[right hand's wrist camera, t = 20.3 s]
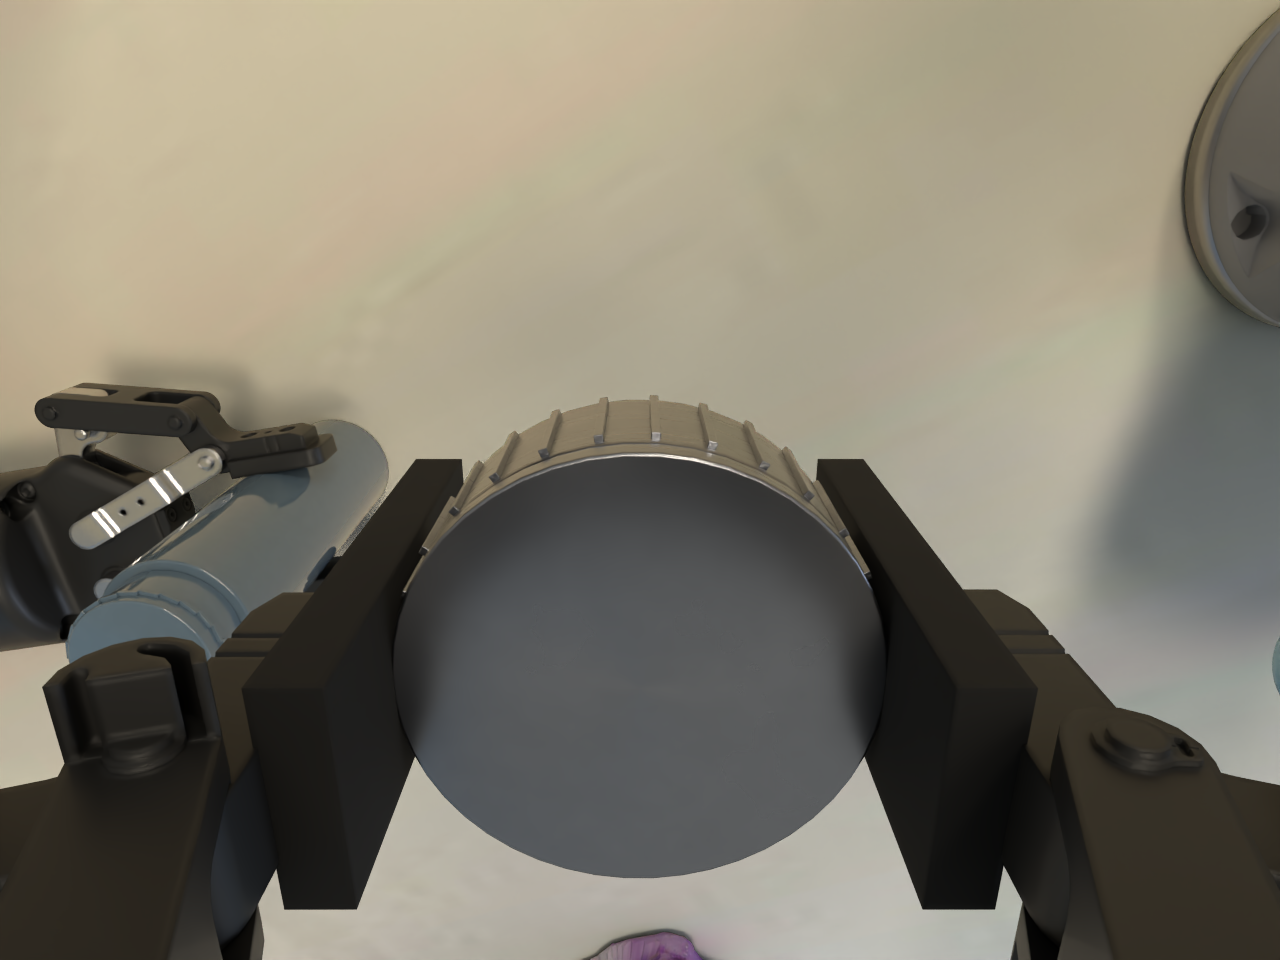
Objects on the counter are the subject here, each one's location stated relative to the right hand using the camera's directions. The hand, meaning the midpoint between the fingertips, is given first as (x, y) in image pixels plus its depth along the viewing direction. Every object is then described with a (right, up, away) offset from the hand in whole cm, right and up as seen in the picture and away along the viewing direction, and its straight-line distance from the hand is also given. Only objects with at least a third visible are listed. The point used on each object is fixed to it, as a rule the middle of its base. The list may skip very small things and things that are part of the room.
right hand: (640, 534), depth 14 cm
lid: (0, -1, -4) cm, 4 cm away
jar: (-15, +2, +27) cm, 31 cm away
